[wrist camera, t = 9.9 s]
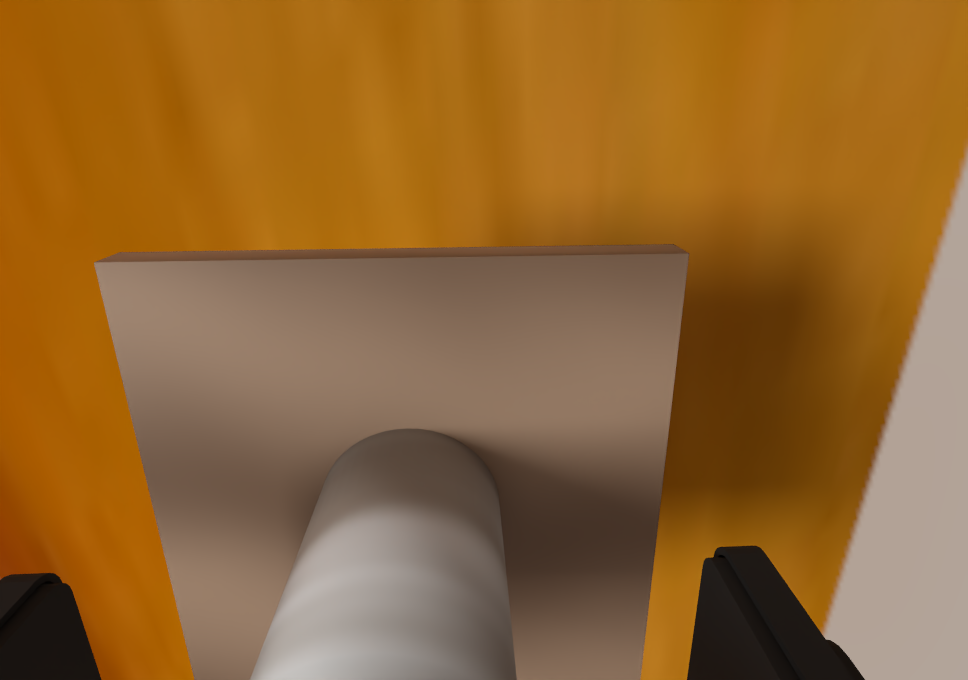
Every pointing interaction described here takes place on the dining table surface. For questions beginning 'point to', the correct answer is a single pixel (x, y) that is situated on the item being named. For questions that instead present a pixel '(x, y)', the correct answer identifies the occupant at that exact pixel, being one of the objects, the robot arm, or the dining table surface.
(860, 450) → the dining table surface
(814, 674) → the robot arm
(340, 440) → the lid
